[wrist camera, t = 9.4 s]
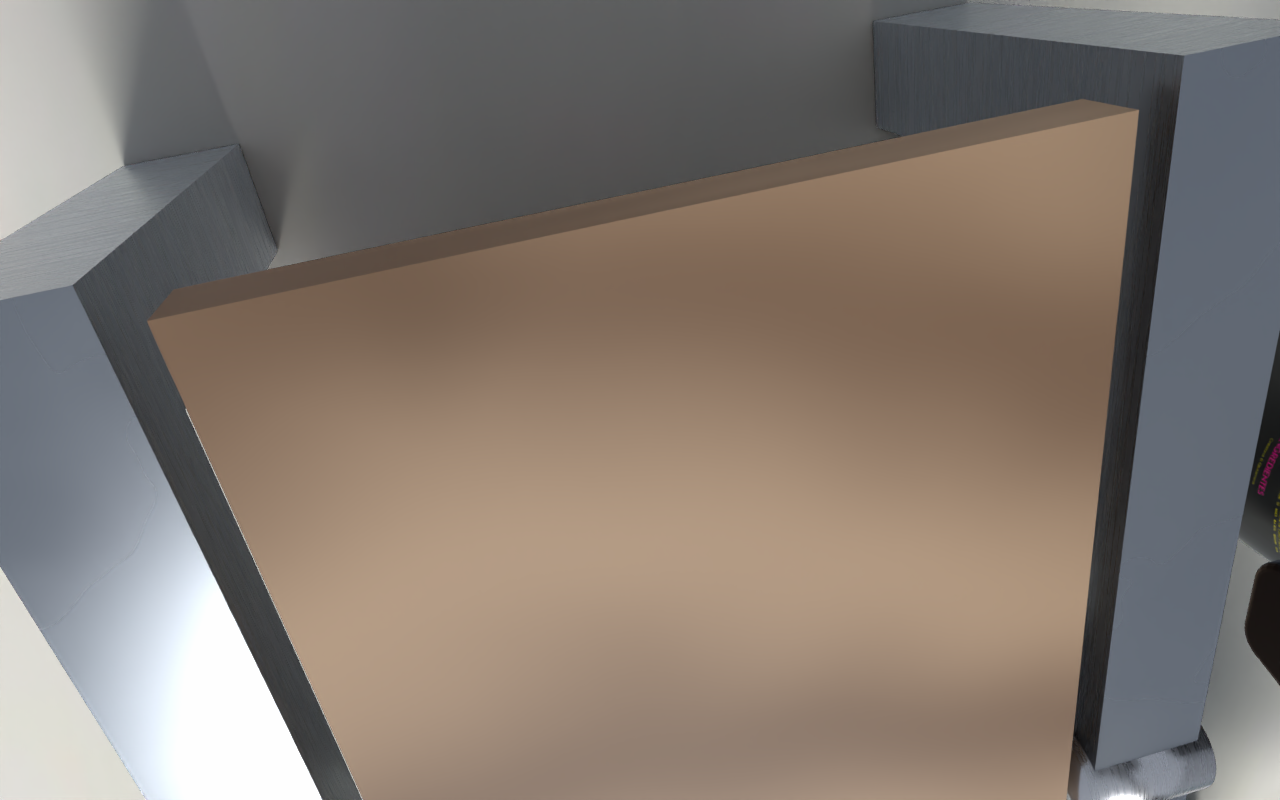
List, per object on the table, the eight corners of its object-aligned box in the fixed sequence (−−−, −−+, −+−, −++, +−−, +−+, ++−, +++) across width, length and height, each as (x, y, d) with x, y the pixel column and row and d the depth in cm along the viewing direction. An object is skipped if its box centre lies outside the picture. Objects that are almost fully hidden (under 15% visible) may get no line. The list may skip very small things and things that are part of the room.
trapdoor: (918, 780, 23) (1045, 994, 18) (509, 902, 22) (528, 1165, 17) (910, 65, 15) (1139, 110, 10) (250, 197, 14) (147, 321, 9)
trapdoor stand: (963, 710, 26) (1166, 997, 19) (415, 868, 24) (404, 1253, 17) (979, 0, 17) (1381, 20, 10) (110, 168, 15) (-191, 347, 8)
